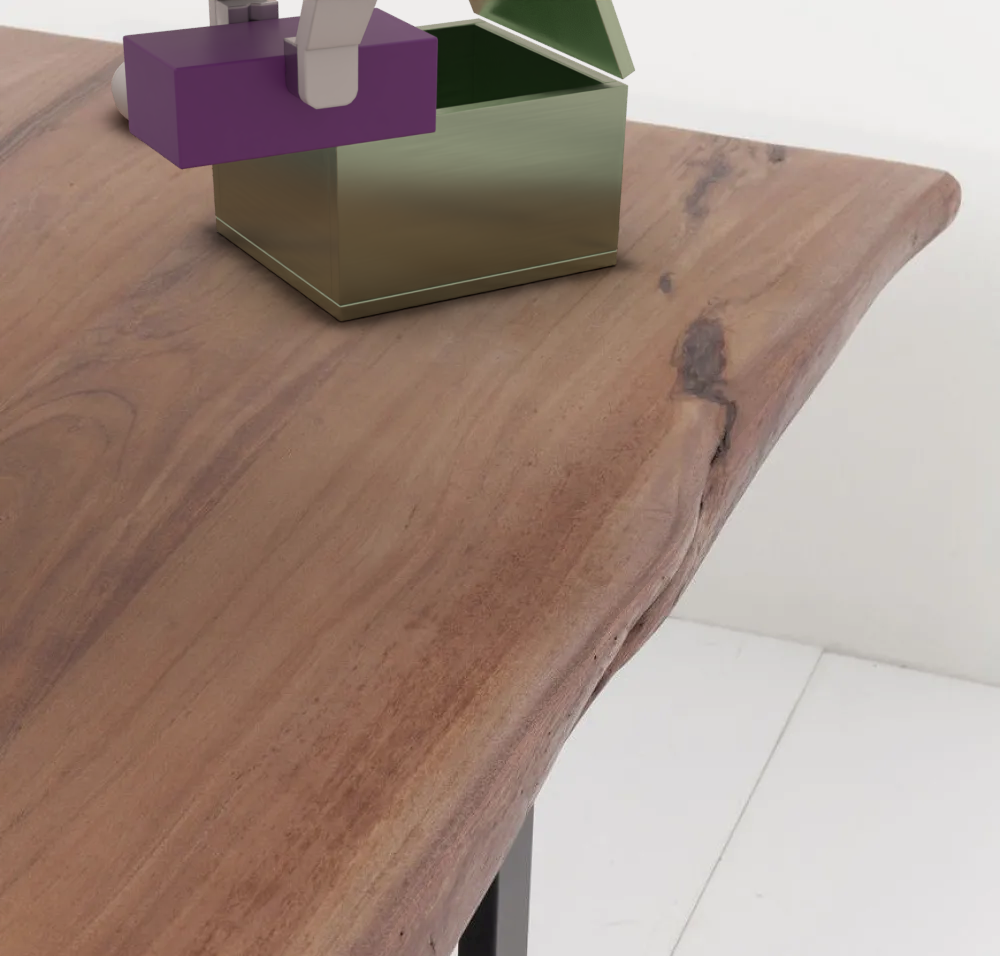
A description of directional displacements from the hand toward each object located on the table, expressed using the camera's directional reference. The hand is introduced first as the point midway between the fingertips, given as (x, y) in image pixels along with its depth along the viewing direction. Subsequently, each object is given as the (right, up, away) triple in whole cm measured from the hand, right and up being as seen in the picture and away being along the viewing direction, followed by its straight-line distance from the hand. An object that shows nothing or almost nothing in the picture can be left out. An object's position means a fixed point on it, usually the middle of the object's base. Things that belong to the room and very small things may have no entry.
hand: (282, 78), depth 59 cm
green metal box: (+3, +5, +36) cm, 36 cm away
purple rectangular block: (0, -1, +1) cm, 2 cm away
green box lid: (+6, +19, +28) cm, 35 cm away
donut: (-11, +17, +53) cm, 56 cm away
